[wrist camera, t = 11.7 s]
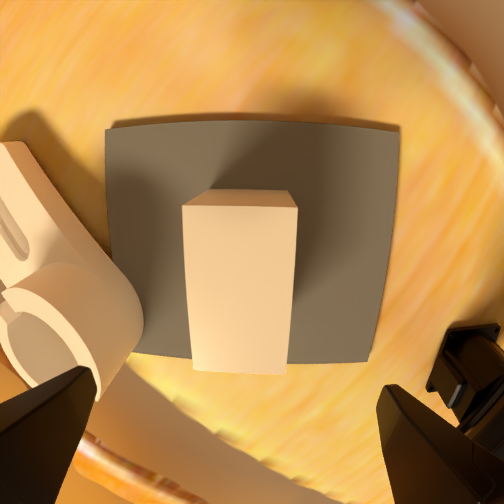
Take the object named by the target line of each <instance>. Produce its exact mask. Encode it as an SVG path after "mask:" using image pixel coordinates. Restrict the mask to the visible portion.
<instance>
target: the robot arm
mask: <svg viewBox="0 0 504 504" xmlns="http://www.w3.org/2000/svg"><path fill="white" fill-rule="evenodd" d="M499 332H500V326H499V325H498V324H497V323H496V324H488V325H480V326H472V327H462V328H453V329H449V330H448V331H447V332H446V334H445V336H444V339H443V342H442V345H441V348H440V351H439V354H438V356H437V359H436V362H435V364H434V367H433V370H432V372H431V375H430V377H429V380H428V382H427V385H426V387H425V388H426V390H427V392H429V393H430V392H436V391H438V393H439V395H440V396H441V398H442V400H443V401H444V403H445V405H446V407H447V408H448V409H450V408H451V409H452V411H453V412H454V414H455V416H456V418H457V419H458V421H459V423H460V424H459V425H458V426H457V427H456V428H455V427H454V426H453V425H451V424H450V423H448V422H447V421H446V420H444V419H443V418H442V417H440V416H439V415H438V414H436V413H435V412H434V411H432V410H431V409H430V408H428V407H427V406H426V405H424V404H423V403H421V402H420V401H419V400H417V399H416V398H415V397H413V396H412V395H411V394H409V393H408V392H407V391H405V390H404V389H403V388H401V387H400V386H399V385H397V384H391V385H385V386H384V387H383V388H382V391H381V394H380V397H379V399H378V402H377V406H376V412H377V419H378V425H379V432H380V439H381V447H382V452H383V457H384V461H385V465H386V468H387V472H388V477H389V481H390V485H391V489H392V493H393V498H394V502H395V504H504V350H503V349H502V348H501V347H500V346H499V345H498V344H497V343H496V340H497V337H498V334H499ZM451 334H452V335H451ZM450 335H451V336H450ZM96 394H97V385H96V382H95V379H94V376H93V373H92V370H91V369H90V368H89V367H86V366H82V365H78V366H76V367H74V368H72V369H70V370H68V371H66V372H64V373H62V374H60V375H58V376H56V377H54V378H52V379H50V380H48V381H46V382H44V383H42V384H40V385H38V386H36V387H34V388H32V389H30V390H27V391H25V392H24V393H21V394H19V395H17V396H15V397H13V398H11V399H9V400H7V401H5V402H3V403H1V404H0V504H55V502H56V499H57V496H58V494H59V491H60V488H61V486H62V483H63V481H64V478H65V476H66V473H67V471H68V468H69V466H70V463H71V461H72V459H73V456H74V454H75V452H76V449H77V447H78V444H79V442H80V440H81V438H82V435H83V433H84V430H85V428H86V425H87V422H88V419H89V416H90V412H91V409H92V406H93V403H94V400H95V397H96Z"/></svg>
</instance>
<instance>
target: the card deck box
mask: <svg viewBox="0 0 504 504" xmlns="http://www.w3.org/2000/svg"><path fill="white" fill-rule="evenodd" d="M297 215H298V207H297V205H296V204H295V202H294V200H293V199H292V197H291V195H290V194H289V192H288V191H287V190H253V189H208V190H207V191H205V192H203V193H202V194H200V195H198V196H197V197H195V198H194V199H192V200H190V201H189V202H187V203H185V204H184V205H182V219H183V244H184V263H185V279H186V293H187V307H188V319H189V330H190V340H191V350H192V360H193V369H194V370H201V371H213V372H228V373H246V374H279V375H286V365H287V355H288V344H289V333H290V321H291V309H292V296H293V282H294V267H295V252H296V234H297Z"/></svg>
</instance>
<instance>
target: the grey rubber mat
mask: <svg viewBox="0 0 504 504" xmlns="http://www.w3.org/2000/svg"><path fill="white" fill-rule="evenodd" d="M398 158H399V133H398V132H392V131H385V130H378V129H370V128H362V127H354V126H344V125H334V124H322V123H309V122H291V121H262V120H220V121H192V122H174V123H161V124H149V125H139V126H130V127H121V128H113V129H106V130H105V177H106V197H107V212H108V224H109V235H110V245H111V253H112V261H113V263H114V264H115V265H116V266H117V267H118V268H119V270H120V271H121V272H122V273H123V274H124V275H125V276H126V278H127V279H128V280H129V282H130V283H131V284H132V286H133V288H134V289H135V291H136V293H137V295H138V298H139V300H140V303H141V306H142V311H143V318H144V326H143V332H142V336H141V338H140V340H139V342H138V344H137V345H136V346H135V348H134V349H133V351H132V352H135V353H143V354H150V355H159V356H167V357H177V358H187V359H192V350H191V340H190V330H189V319H188V307H187V293H186V279H185V263H184V244H183V219H182V205H184V204H185V203H187V202H189V201H190V200H192V199H194V198H195V197H197V196H198V195H200V194H202V193H203V192H205V191H207V190H208V189H253V190H287V191H288V192H289V194H290V195H291V197H292V199H293V200H294V202H295V204H296V205H297V207H298V215H297V234H296V252H295V267H294V282H293V296H292V309H291V321H290V333H289V344H288V355H287V364H328V363H356V362H367V361H368V357H369V353H370V349H371V345H372V341H373V337H374V333H375V328H376V324H377V319H378V314H379V310H380V305H381V300H382V294H383V289H384V283H385V278H386V272H387V266H388V259H389V252H390V245H391V238H392V230H393V221H394V212H395V202H396V190H397V176H398Z"/></svg>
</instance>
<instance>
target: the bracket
mask: <svg viewBox="0 0 504 504" xmlns="http://www.w3.org/2000/svg"><path fill="white" fill-rule="evenodd" d="M0 279H1V280H2V282H3V283H4V285H5V286H6V287H7V289H6V290H5V291H3V292H2V295H3V297H4V298H5V299H6V300H5V301H4V302H3V303H1V304H0V343H1V345H2V348H3V350H4V352H5V354H6V355H7V357H8V359H9V361H10V362H11V364H12V365H13V367H14V368H15V369H16V371H17V372H18V373H19V374H20V376H21V377H22V378H23V379H24V380H25V381H26V382H27V383H28V384H29V385H30V386H31V387H32V388H34V387H36V386H38V385H40V384H42V383H44V382H46V381H48V380H50V379H52V378H54V377H56V376H58V375H60V374H62V373H64V372H66V371H68V370H70V369H72V368H74V367H76V366H78V365H82V366H86V367H89V368H90V369H91V370H92V373H93V376H94V379H95V382H96V385H97V394H96V397H95V400H96V401H97V402H98V400H99V399H100V397H101V396H102V394H103V393H104V391H105V390H106V388H107V387H108V385H109V384H110V382H111V381H112V379H113V378H114V377H115V375H116V374H117V372H118V371H119V369H120V368H121V366H122V365H123V364H124V362H125V361H126V359H127V358H128V356H129V355H130V353H131V352H132V351H133V349H134V348H135V346H136V345H137V344H138V342H139V340H140V338H141V336H142V332H143V326H144V318H143V311H142V306H141V303H140V300H139V298H138V295H137V293H136V291H135V289H134V288H133V286H132V284H131V283H130V282H129V280H128V279H127V278H126V276H125V275H124V274H123V273H122V272H121V271H120V270H119V268H118V267H117V266H116V265H115V264H114V263H113V261H112V260H111V259H110V258H109V257H108V256H107V254H106V253H105V252H104V251H103V250H102V248H101V247H100V246H99V245H98V243H97V242H96V241H95V240H94V239H93V237H92V236H91V235H90V234H89V232H88V231H87V230H86V229H85V227H84V226H83V225H82V223H81V222H80V221H79V220H78V218H77V217H76V216H75V214H74V213H73V212H72V210H71V209H70V208H69V206H68V205H67V204H66V202H65V201H64V200H63V198H62V197H61V196H60V194H59V193H58V191H57V190H56V189H55V187H54V186H53V184H52V183H51V182H50V180H49V179H48V177H47V176H46V174H45V173H44V172H43V170H42V169H41V167H40V166H39V164H38V163H37V161H36V160H35V158H34V157H33V155H32V154H31V152H30V151H29V149H28V147H27V146H26V144H25V143H24V142H21V141H12V142H0Z"/></svg>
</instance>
